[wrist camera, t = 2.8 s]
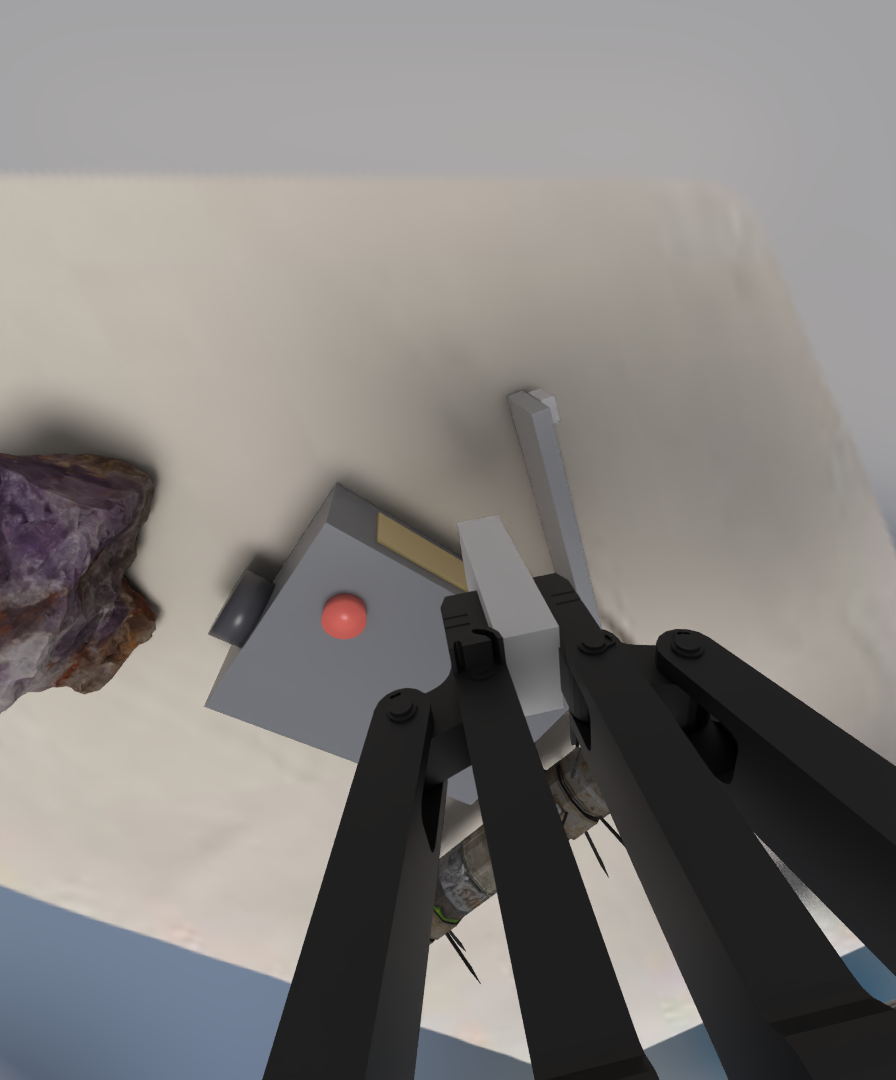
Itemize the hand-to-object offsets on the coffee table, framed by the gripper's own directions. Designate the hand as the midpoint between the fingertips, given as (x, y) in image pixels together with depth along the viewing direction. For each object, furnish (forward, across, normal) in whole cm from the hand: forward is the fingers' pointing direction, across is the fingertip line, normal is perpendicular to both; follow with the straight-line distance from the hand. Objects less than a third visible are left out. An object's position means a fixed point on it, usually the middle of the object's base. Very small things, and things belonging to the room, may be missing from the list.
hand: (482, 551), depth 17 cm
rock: (+9, -20, 0) cm, 22 cm away
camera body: (+9, -4, -10) cm, 14 cm away
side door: (+9, +5, -4) cm, 11 cm away
